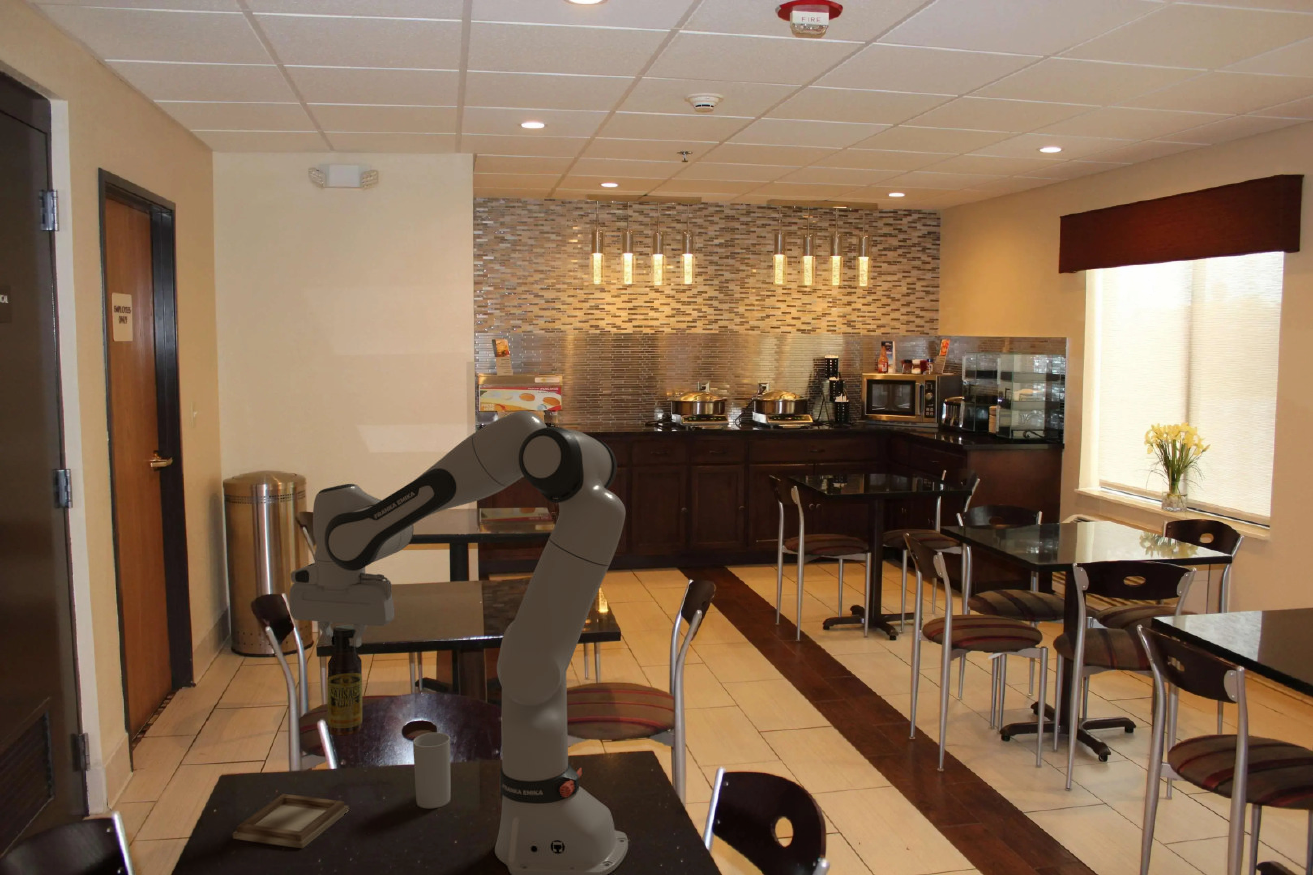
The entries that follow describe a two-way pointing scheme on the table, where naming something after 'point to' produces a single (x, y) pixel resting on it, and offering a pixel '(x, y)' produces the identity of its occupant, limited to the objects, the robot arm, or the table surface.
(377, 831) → the table surface
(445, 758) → the mug
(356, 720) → the sauce bottle
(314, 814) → the seat plate
